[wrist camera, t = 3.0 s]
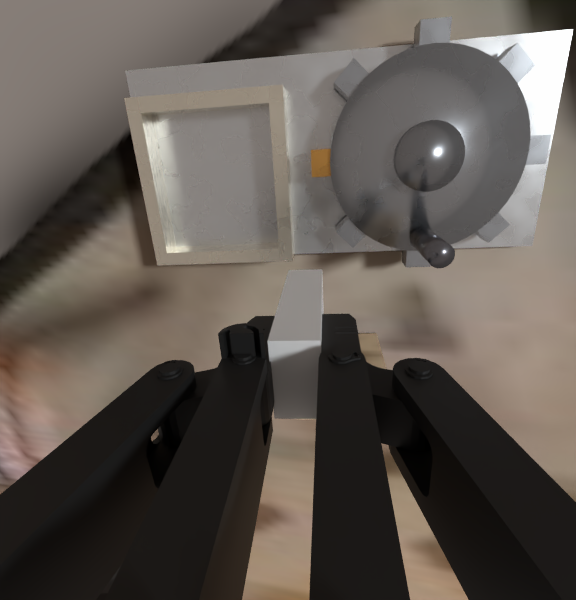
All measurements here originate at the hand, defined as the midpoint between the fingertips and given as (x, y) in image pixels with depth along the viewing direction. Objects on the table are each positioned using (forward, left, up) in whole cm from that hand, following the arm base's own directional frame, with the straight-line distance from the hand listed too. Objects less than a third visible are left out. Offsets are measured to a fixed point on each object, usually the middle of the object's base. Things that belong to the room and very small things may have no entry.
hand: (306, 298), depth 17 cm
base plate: (+2, +5, -15) cm, 16 cm away
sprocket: (+8, +5, -14) cm, 17 cm away
